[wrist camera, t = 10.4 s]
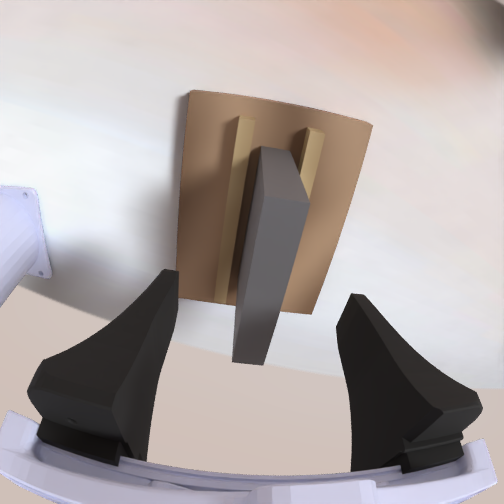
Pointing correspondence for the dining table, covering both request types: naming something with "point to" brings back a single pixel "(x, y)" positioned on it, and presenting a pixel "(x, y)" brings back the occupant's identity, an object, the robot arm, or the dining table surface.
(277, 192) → the grey upright slab
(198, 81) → the dining table surface
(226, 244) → the board
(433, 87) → the dining table surface
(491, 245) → the dining table surface
